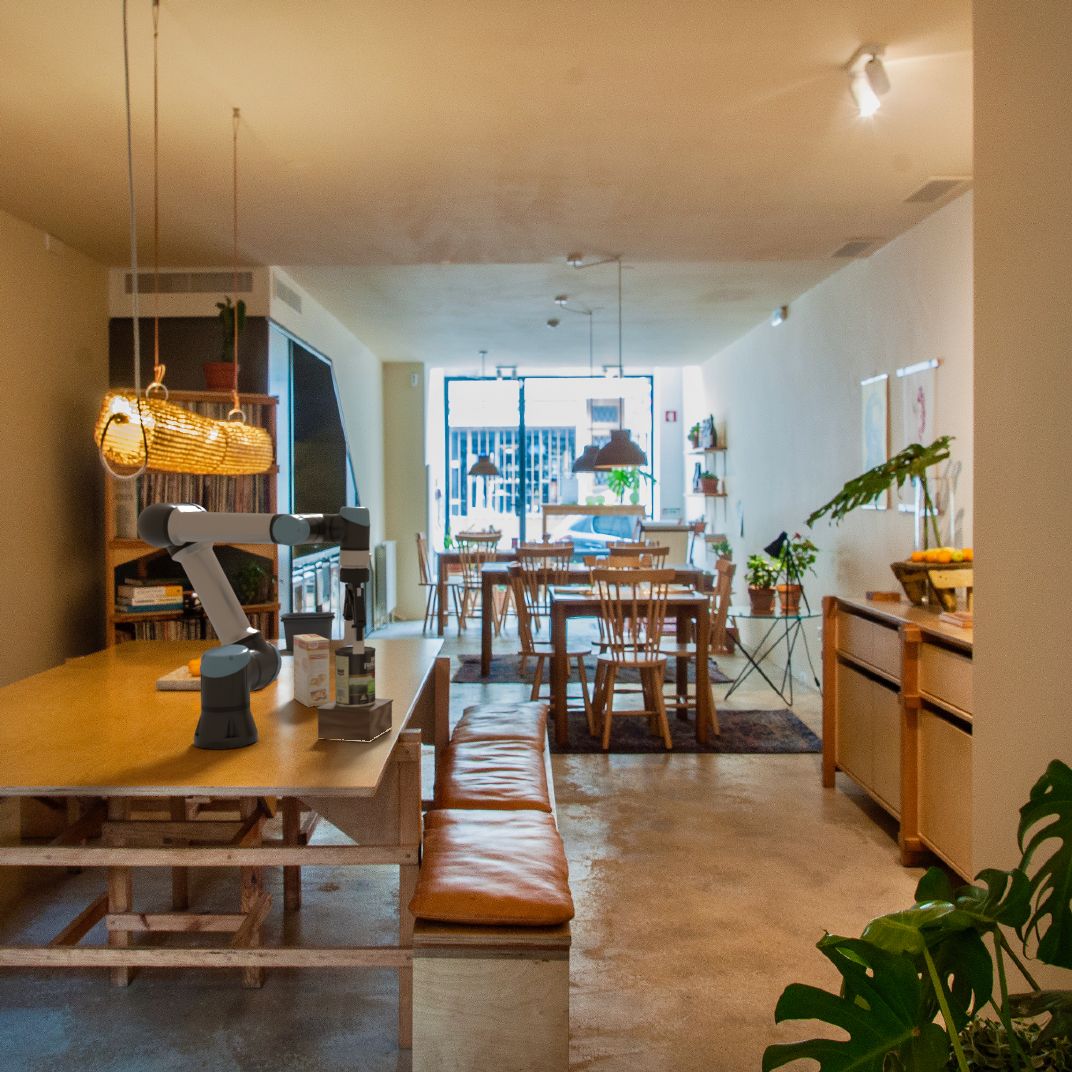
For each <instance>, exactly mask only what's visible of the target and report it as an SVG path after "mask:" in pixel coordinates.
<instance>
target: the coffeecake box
mask: <svg viewBox="0 0 1072 1072" xmlns="http://www.w3.org/2000/svg"><path fill="white" fill-rule="evenodd" d="M293 638H294V650H293V699H295V700H296V701H297V702H299V703H301V704H302V705H304V706H305V707H306V706H307V707H306V708H313V706H315V707H320V706H322V705H325V704H327V703H329V702H331V699H330V696H331V695H330V684H331V683H330V674H331V673H330V647H329V639H326V638H323V637H321V636H318V635H316V634H304V635H294V636H293Z"/></svg>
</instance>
